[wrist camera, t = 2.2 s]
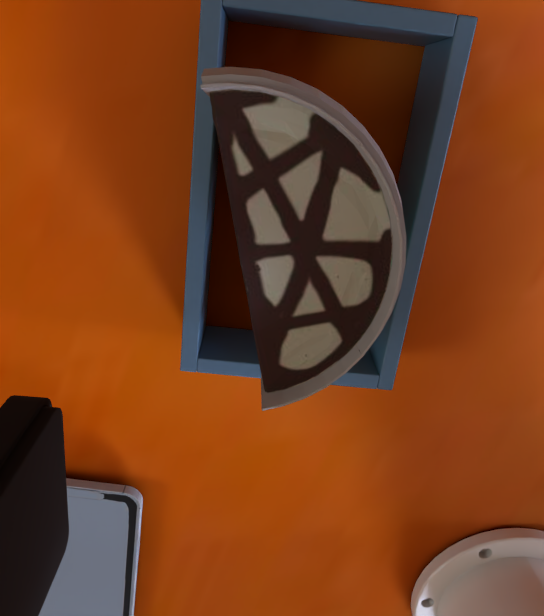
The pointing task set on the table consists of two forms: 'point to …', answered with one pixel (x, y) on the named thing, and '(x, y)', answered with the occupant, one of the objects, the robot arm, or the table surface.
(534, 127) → the table surface
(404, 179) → the rectangular frame
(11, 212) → the table surface
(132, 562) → the smartphone
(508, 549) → the robot arm
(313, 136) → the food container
